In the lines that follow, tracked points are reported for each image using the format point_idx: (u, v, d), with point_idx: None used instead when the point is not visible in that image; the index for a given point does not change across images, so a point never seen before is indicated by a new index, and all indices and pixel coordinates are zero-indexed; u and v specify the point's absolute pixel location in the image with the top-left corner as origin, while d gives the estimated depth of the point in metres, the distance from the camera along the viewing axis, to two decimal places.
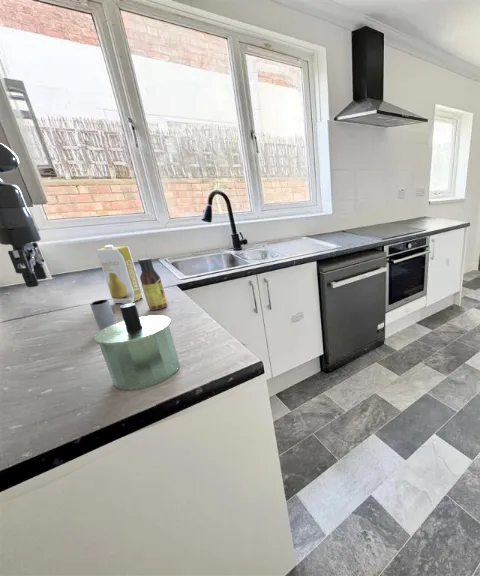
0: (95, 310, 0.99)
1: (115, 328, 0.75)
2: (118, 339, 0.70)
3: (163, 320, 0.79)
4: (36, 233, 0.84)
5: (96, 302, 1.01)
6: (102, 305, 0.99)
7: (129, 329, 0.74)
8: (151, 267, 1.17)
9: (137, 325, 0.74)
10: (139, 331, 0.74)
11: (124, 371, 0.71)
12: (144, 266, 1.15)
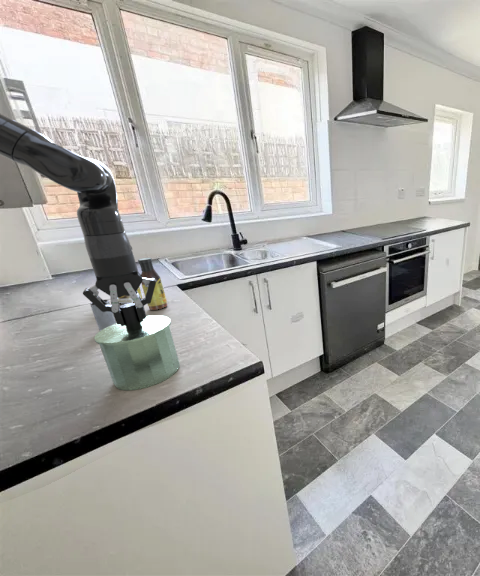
0: (95, 310, 0.99)
1: (115, 328, 0.75)
2: (118, 339, 0.70)
3: (163, 320, 0.79)
4: None
5: None
6: None
7: (129, 329, 0.74)
8: (151, 267, 1.17)
9: (137, 325, 0.74)
10: (139, 331, 0.74)
11: (124, 371, 0.71)
12: (144, 266, 1.15)
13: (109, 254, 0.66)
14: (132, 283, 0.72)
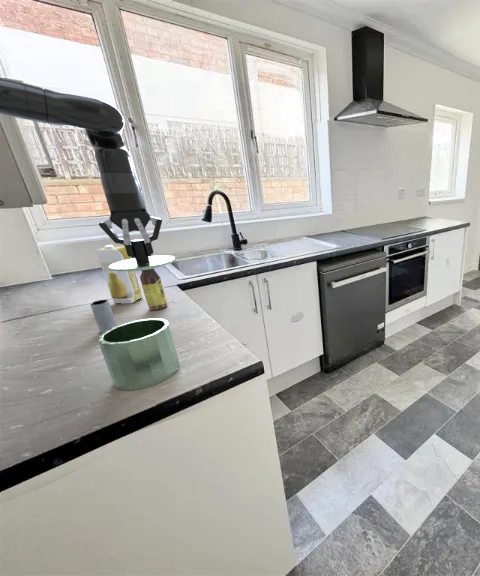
0: (95, 310, 0.99)
1: (126, 262, 0.85)
2: (129, 267, 0.80)
3: (168, 258, 0.89)
4: None
5: (96, 302, 1.01)
6: (102, 305, 0.99)
7: (138, 261, 0.84)
8: None
9: (145, 258, 0.84)
10: (147, 263, 0.83)
11: (124, 371, 0.71)
12: None
13: (122, 190, 0.76)
14: (141, 220, 0.82)
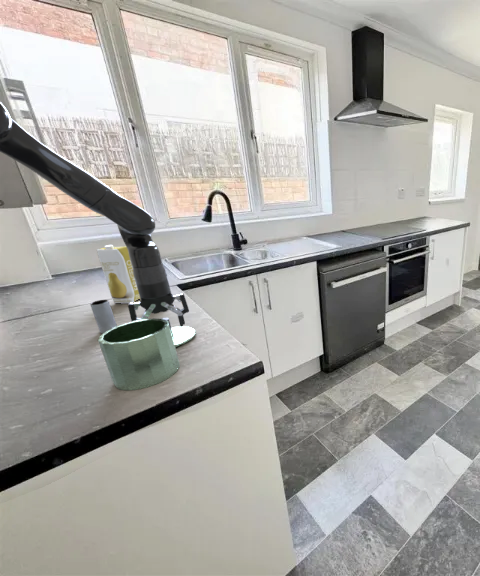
0: (95, 310, 0.99)
1: None
2: None
3: (189, 331, 1.00)
4: None
5: (96, 302, 1.01)
6: (102, 305, 0.99)
7: None
8: None
9: None
10: None
11: (124, 371, 0.71)
12: None
13: (151, 281, 0.87)
14: (166, 301, 0.92)
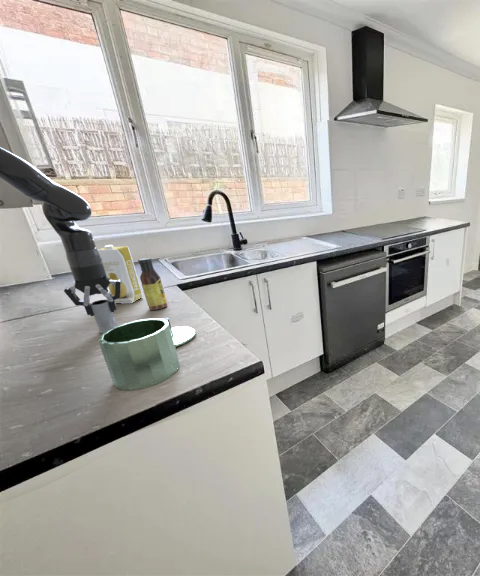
0: (95, 310, 0.99)
1: None
2: None
3: (189, 331, 1.00)
4: None
5: (96, 302, 1.01)
6: (101, 305, 0.99)
7: None
8: (151, 267, 1.17)
9: None
10: None
11: (124, 371, 0.71)
12: (144, 266, 1.15)
13: (84, 264, 0.93)
14: (102, 284, 0.99)
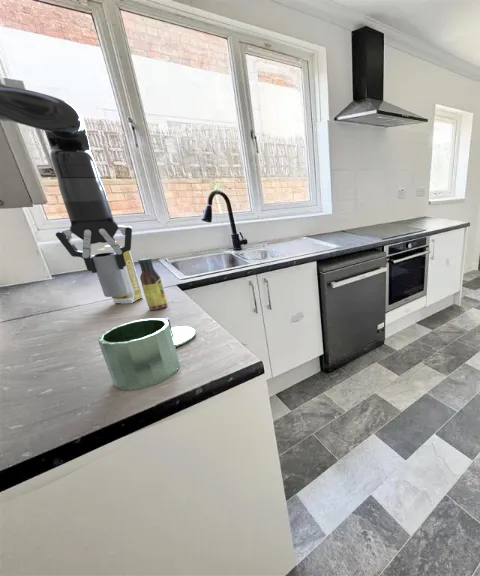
0: (98, 264, 0.74)
1: None
2: None
3: (189, 331, 1.00)
4: None
5: (99, 255, 0.76)
6: (107, 258, 0.74)
7: None
8: (151, 267, 1.17)
9: None
10: None
11: (124, 371, 0.71)
12: (144, 266, 1.15)
13: (83, 197, 0.68)
14: (107, 230, 0.73)
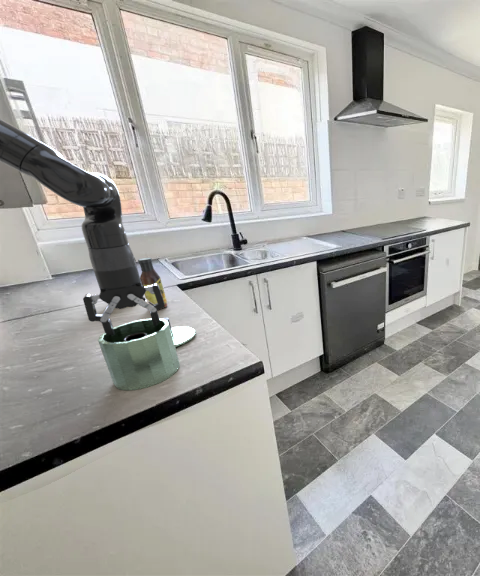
0: None
1: None
2: None
3: (189, 331, 1.00)
4: None
5: (131, 336, 0.77)
6: None
7: None
8: (151, 267, 1.17)
9: None
10: None
11: (124, 371, 0.71)
12: (144, 266, 1.15)
13: (113, 267, 0.67)
14: (134, 293, 0.73)
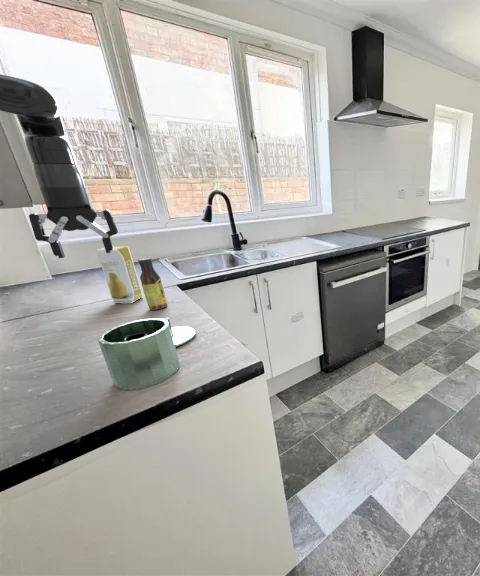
0: None
1: None
2: None
3: (189, 331, 1.00)
4: None
5: (131, 336, 0.77)
6: None
7: None
8: (151, 267, 1.17)
9: None
10: None
11: (124, 371, 0.71)
12: (144, 266, 1.15)
13: (58, 183, 0.67)
14: (84, 216, 0.73)
